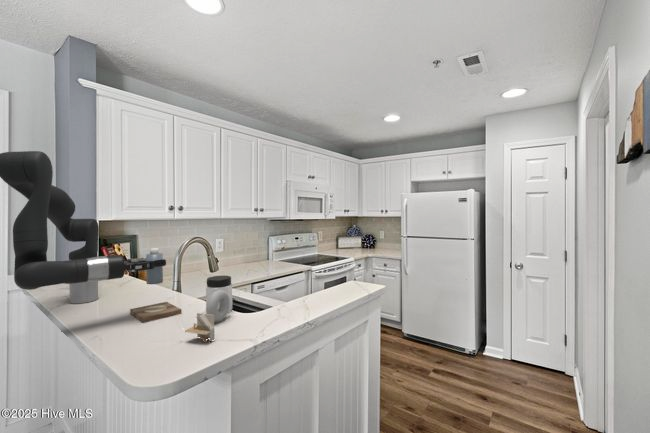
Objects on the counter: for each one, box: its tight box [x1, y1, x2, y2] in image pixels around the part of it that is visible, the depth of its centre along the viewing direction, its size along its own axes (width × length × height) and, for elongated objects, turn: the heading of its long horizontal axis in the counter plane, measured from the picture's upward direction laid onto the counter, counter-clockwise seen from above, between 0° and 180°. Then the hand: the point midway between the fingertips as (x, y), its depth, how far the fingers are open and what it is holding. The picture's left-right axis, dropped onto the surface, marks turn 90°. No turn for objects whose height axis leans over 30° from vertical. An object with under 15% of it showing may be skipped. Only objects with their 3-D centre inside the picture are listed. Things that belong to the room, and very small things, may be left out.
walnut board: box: [129, 301, 182, 323], centre depth 107 cm, size 14×12×2 cm
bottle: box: [145, 247, 164, 285], centre depth 106 cm, size 5×5×12 cm
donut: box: [205, 290, 230, 323], centre depth 98 cm, size 10×3×10 cm, turn 163°
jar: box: [205, 275, 233, 314], centre depth 108 cm, size 9×8×12 cm
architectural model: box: [184, 312, 216, 342], centre depth 83 cm, size 3×7×7 cm, turn 72°
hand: (162, 261), depth 108 cm, fingers closed on bottle, 5 cm apart
